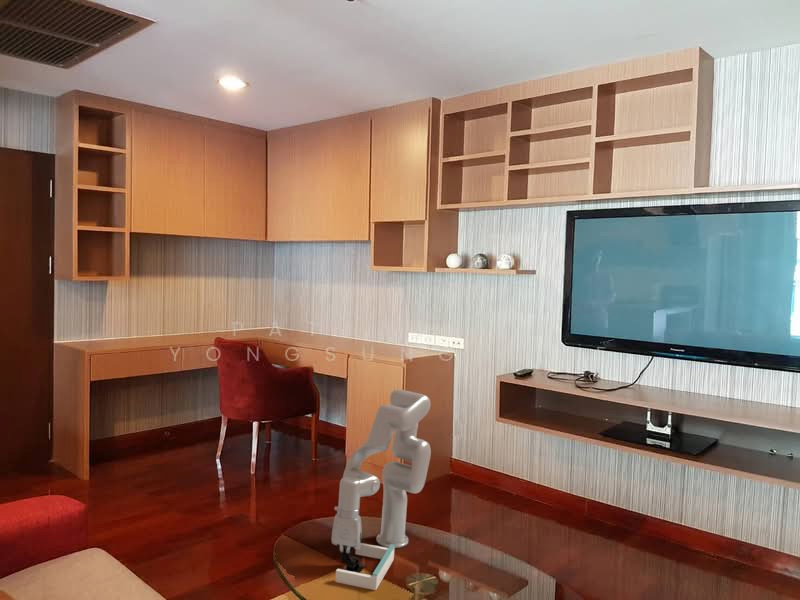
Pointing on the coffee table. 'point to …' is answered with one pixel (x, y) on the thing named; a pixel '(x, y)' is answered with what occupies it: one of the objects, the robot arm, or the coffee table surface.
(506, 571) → the coffee table surface
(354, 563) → the black irregular block
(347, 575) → the frame
